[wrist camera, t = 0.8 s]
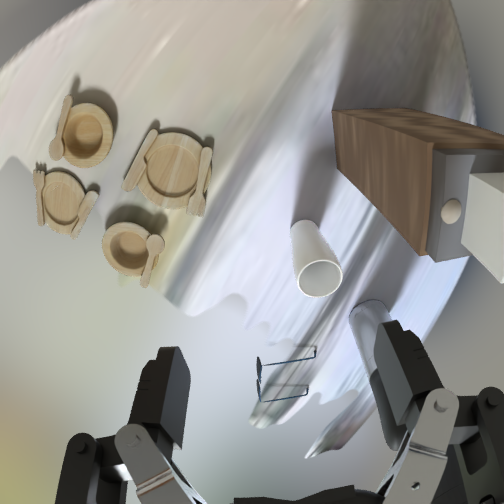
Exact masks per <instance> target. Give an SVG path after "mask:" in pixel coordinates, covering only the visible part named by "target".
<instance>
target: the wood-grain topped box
mask: <svg viewBox="0 0 504 504" xmlns="http://www.w3.org/2000/svg"><path fill="white" fill-rule="evenodd" d="M332 119H333V128H334V138H335V149H336V162H337V169H338V170H339V171H340V172H341V173H342V174H343V175H344V176H345V177H346V178H347V179H348V180H349V181H350V182H351V183H352V184H353V185H354V186H356V187H357V188H358V189H359V191H360V192H361V193H362V194H363V195H364V196H365V197H366V198H367V199H368V200H369V201H370V202H371V203H372V204H373V205H374V206H375V207H376V208H377V209H378V210H379V211H380V212H381V213H382V214H383V215H384V217H385V218H386V219H387V220H388V221H389V222H390V223H391V224H392V225H393V226H394V227H395V229H396V230H397V231H398V232H399V233H400V234H401V235H402V236H403V238H404V239H405V240H406V241H407V242H408V243H409V244H410V246H411V247H412V248H413V249H414V250H415V251H416V253H417V254H418V255H419V256H424V255H429V256H430V257H431V258H432V259H433V260H434V262H435V263H436V262H441V261H446V260H451V259H456V258H461V257H465V256H470V255H473V254H472V253H471V252H470V251H469V250H468V249H467V248H466V247H465V246H464V245H463V244H462V243H461V239H462V233H463V227H464V220H465V213H466V205H467V197H468V187H469V175H470V174H475V173H504V135H502V134H499V133H496V132H493V131H490V130H487V129H484V128H481V127H478V126H474V125H471V124H468V123H464V122H461V121H457V120H454V119H450V118H446V117H442V116H438V115H434V114H430V113H426V112H422V111H417V110H412V109H407V108H377V109H350V110H333V111H332Z"/></svg>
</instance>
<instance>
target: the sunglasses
mask: <svg viewBox="0 0 504 504" xmlns="http://www.w3.org/2000/svg"><path fill="white" fill-rule="evenodd" d="M315 357H316V351H314V357H311V358H305V359H299V360H293V361H287V362H280V363H273V364H268V365H275V364H283V363H290V362H296V361H302V360H308V359H313V358H315ZM261 371H262V365H261V362H260V359H259V357H257V375H258V379H259V380H258V379H257V391H258V396H259V399H260V386H259V382H260V383H261V380H260V379H261ZM308 390H309V389H308V388H307V393H306V394H305V395H300V396H294V397H288V398H282V399H276V400H270V401H277V400H284V399H290V398H296V397H301V396H306V395H307V394H308ZM270 401H264V402H270ZM260 402H261V399H260Z"/></svg>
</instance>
